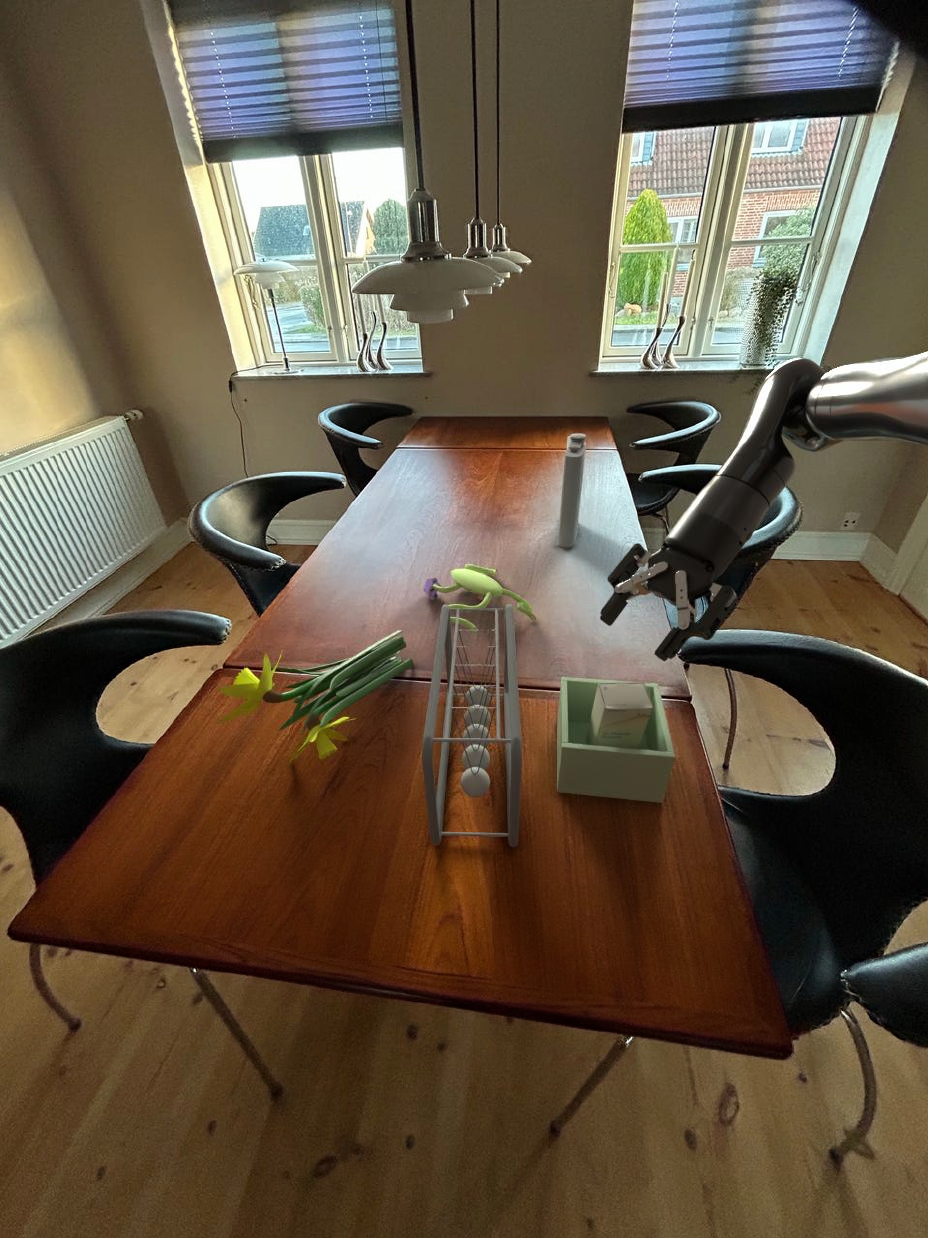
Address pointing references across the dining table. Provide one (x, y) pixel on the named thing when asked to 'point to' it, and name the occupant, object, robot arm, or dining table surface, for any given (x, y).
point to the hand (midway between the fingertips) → (630, 639)
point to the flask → (571, 489)
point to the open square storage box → (610, 749)
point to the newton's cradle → (473, 728)
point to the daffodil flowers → (322, 690)
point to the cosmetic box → (619, 715)
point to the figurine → (475, 591)
